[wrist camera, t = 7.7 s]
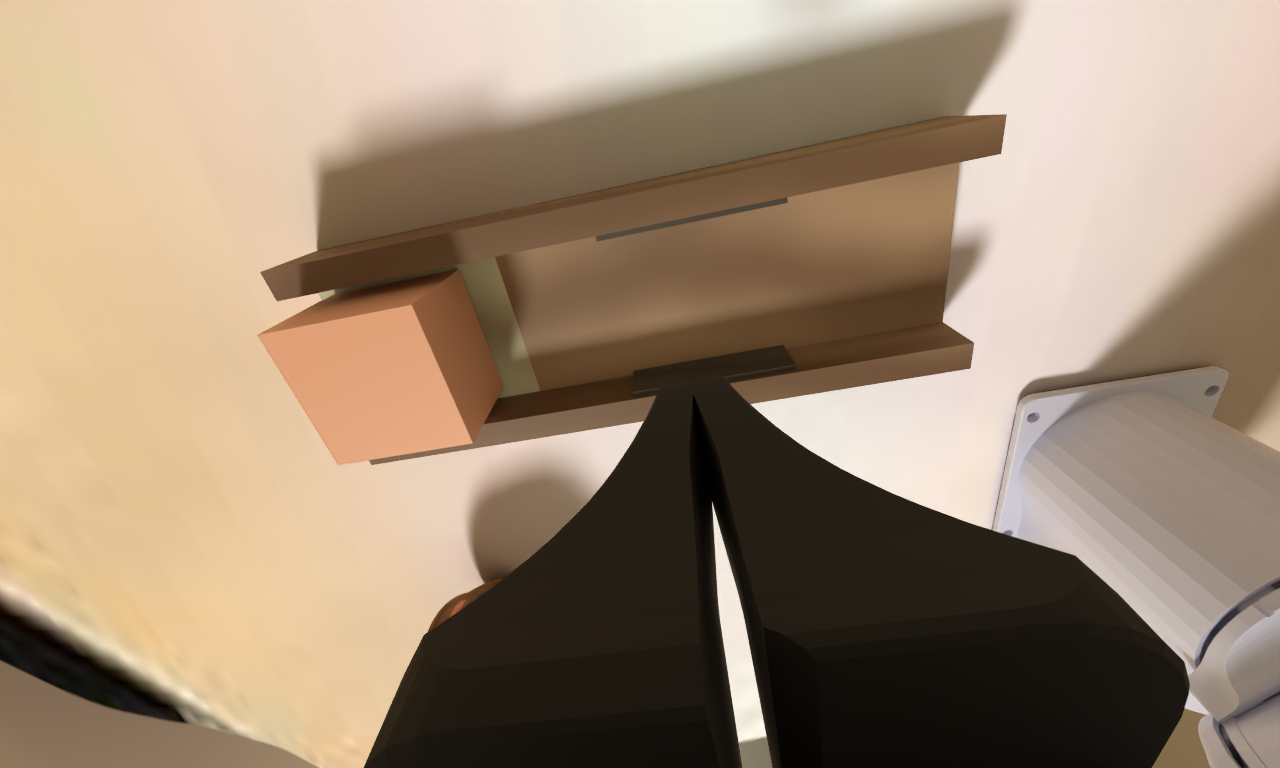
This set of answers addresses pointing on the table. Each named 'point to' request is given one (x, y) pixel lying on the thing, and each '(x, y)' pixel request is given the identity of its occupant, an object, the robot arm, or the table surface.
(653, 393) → the chute
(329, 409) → the block
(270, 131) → the table surface
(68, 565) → the table surface
